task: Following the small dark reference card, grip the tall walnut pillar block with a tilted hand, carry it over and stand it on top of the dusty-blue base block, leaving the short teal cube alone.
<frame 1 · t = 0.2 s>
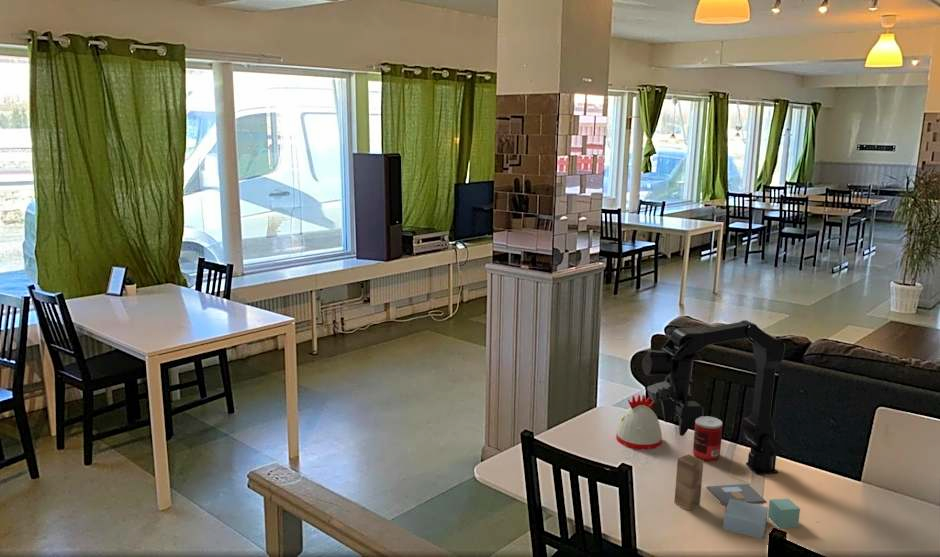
hand: (673, 428, 194), 14 cm above the table, tool pointing down, fingers open, 9 cm apart
reference card: (735, 494, 187), on the table
blue base block: (744, 525, 173), on the table
walnut pillar: (687, 504, 182), on the table
canned food: (706, 456, 210), on the table
kitchen timer: (638, 440, 220), on the table
teal cube: (782, 522, 174), on the table
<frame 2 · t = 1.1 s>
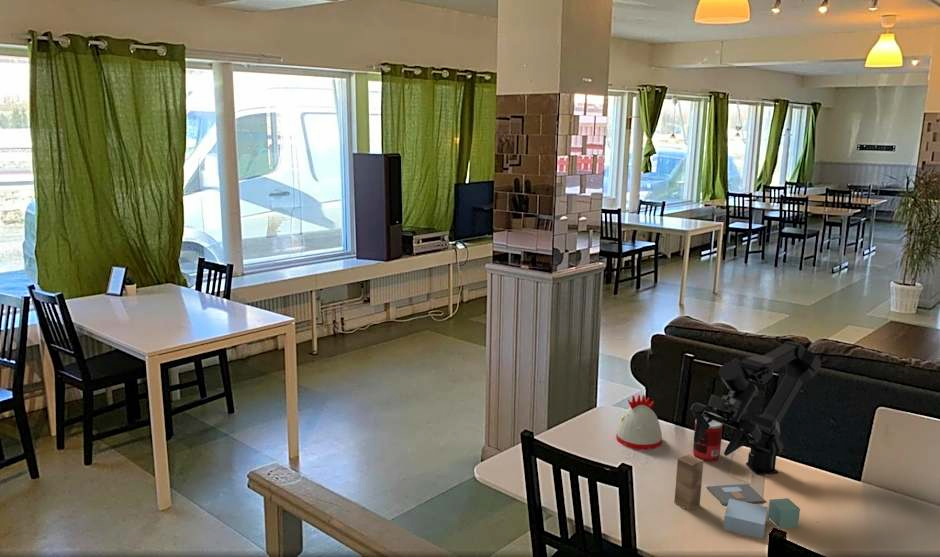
hand: (709, 448, 184), 13 cm above the table, tool tilted 45°, fingers open, 9 cm apart
nothing on the table moved.
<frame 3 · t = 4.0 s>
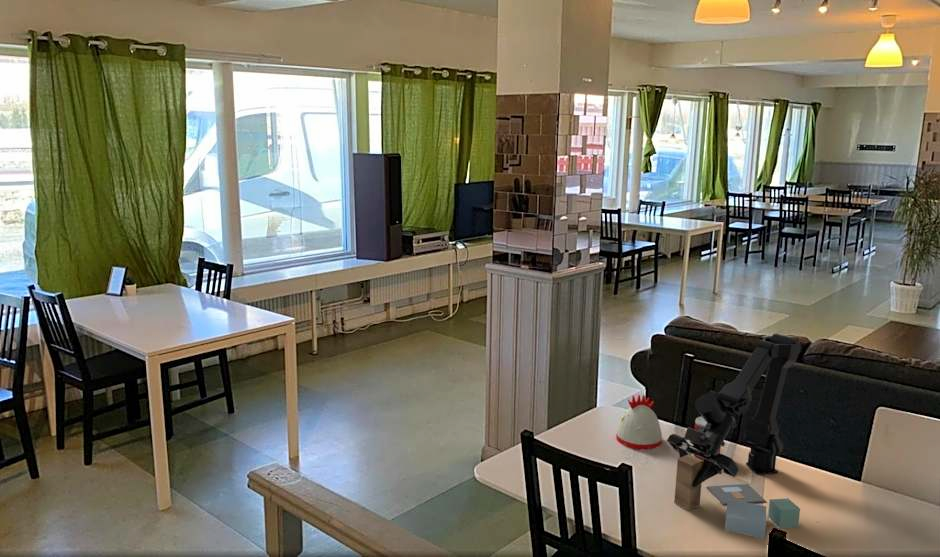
hand: (685, 482, 180), 7 cm above the table, tool tilted 45°, fingers closed on walnut pillar, 4 cm apart
walnut pillar: (686, 504, 182), on the table, touching gripper
everything else where it was.
when the fingers open (12 cm above the table, at t = 7.0 s): walnut pillar drops 2 cm, point 4 cm above the table.
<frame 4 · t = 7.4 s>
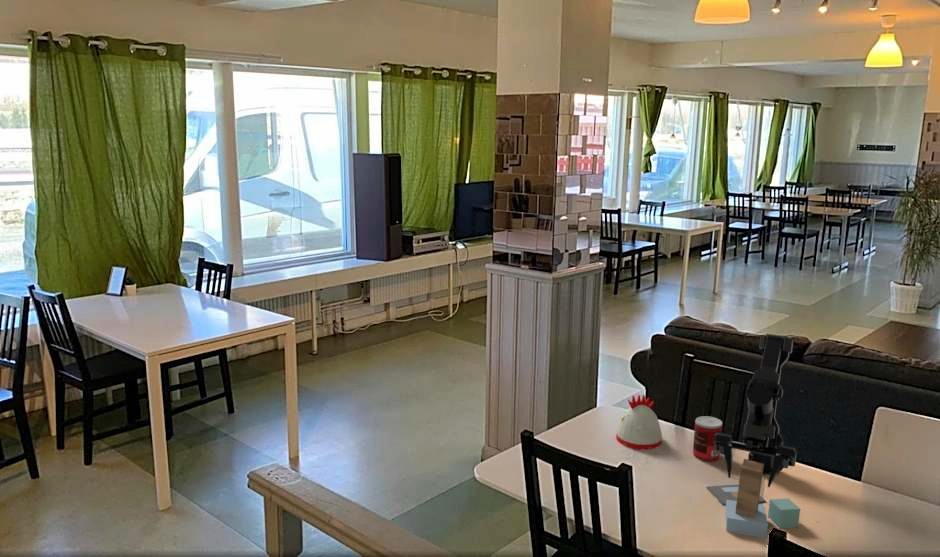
hand: (748, 482, 169), 12 cm above the table, tool tilted 45°, fingers open, 9 cm apart
walnut pillar: (746, 511, 172), point 4 cm above the table
everything else where it was.
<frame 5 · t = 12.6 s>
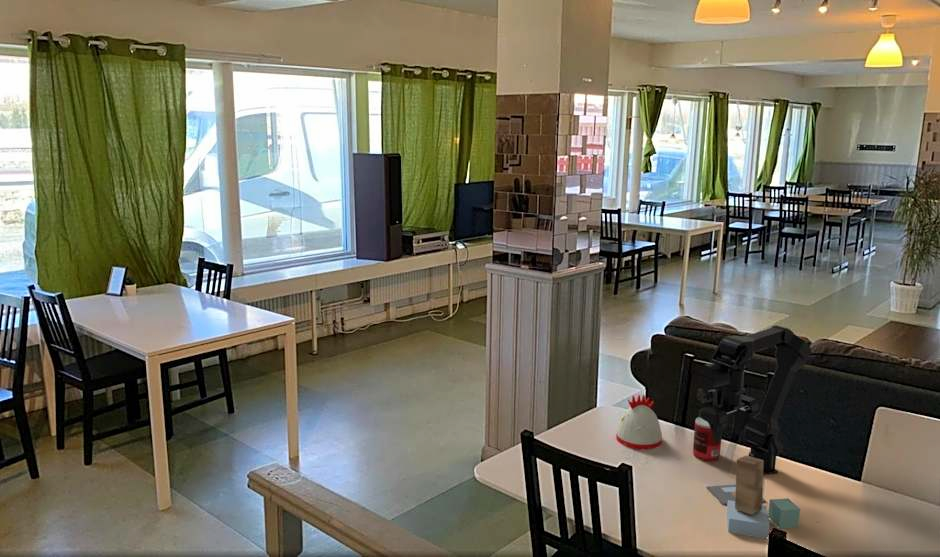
hand: (726, 438, 191), 13 cm above the table, tool pointing down, fingers open, 9 cm apart
at the end: walnut pillar 0.5 cm off-centre on the blue base block, point 4.2 cm above the blue base block's base; walnut pillar tilted 4°; walnut pillar touching blue base block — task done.
